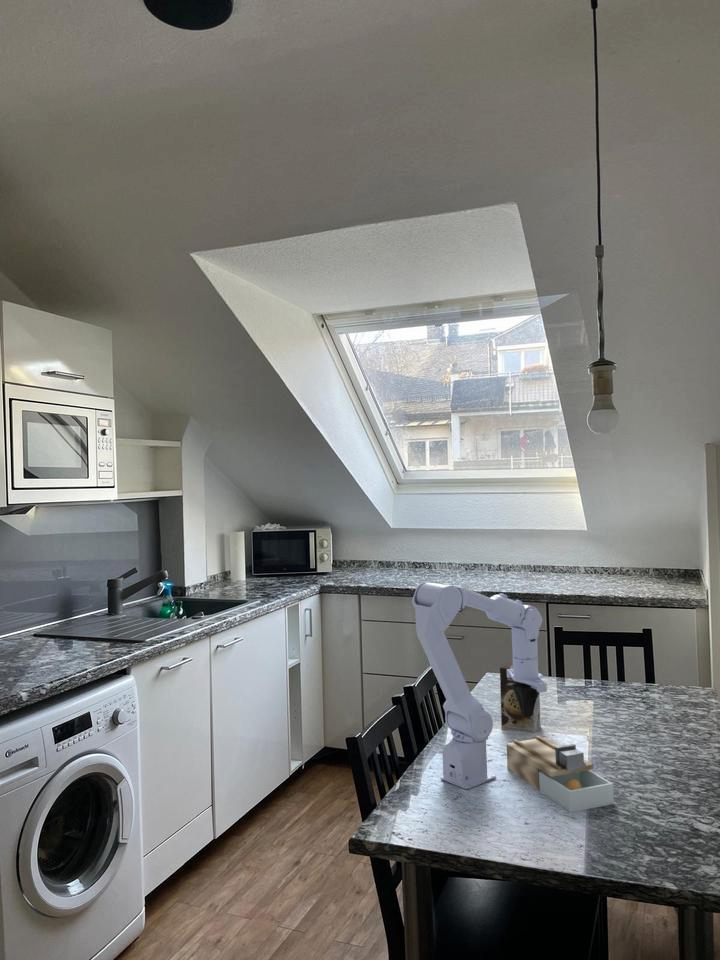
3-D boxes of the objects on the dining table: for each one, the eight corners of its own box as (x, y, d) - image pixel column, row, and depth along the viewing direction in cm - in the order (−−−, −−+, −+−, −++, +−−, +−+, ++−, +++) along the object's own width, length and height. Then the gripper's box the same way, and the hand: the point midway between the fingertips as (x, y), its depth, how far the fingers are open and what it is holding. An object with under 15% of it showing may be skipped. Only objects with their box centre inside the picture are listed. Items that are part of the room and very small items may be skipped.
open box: (539, 790, 155) (538, 771, 155) (580, 783, 158) (580, 764, 158) (570, 812, 144) (569, 791, 144) (613, 803, 147) (613, 783, 147)
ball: (572, 799, 151) (576, 789, 149) (560, 789, 153) (564, 779, 151) (581, 793, 152) (585, 783, 151) (570, 783, 154) (573, 773, 153)
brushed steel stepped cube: (555, 764, 154) (555, 746, 154) (574, 761, 155) (573, 743, 155) (566, 770, 150) (565, 752, 150) (584, 767, 152) (584, 749, 152)
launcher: (507, 768, 167) (506, 740, 168) (546, 761, 171) (545, 734, 171) (552, 799, 150) (550, 768, 150) (594, 791, 154) (592, 761, 154)
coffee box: (500, 729, 194) (498, 667, 194) (507, 721, 200) (505, 661, 200) (535, 733, 190) (533, 670, 190) (541, 726, 195) (539, 664, 196)
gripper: (557, 661, 166) (560, 722, 166) (524, 648, 180) (526, 705, 179) (529, 665, 164) (532, 727, 164) (498, 651, 177) (500, 708, 177)
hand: (527, 715), depth 171 cm, fingers closed
